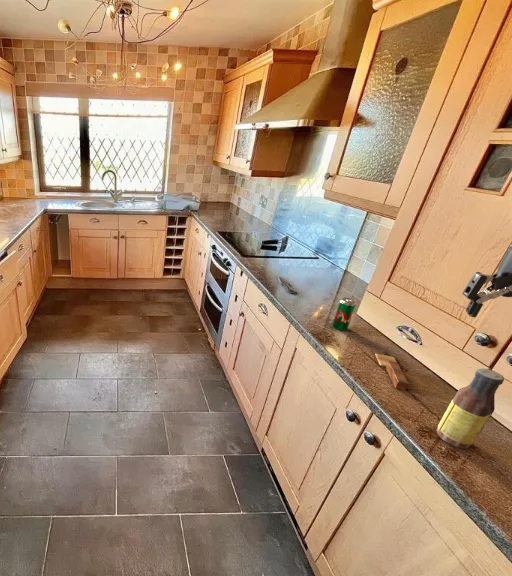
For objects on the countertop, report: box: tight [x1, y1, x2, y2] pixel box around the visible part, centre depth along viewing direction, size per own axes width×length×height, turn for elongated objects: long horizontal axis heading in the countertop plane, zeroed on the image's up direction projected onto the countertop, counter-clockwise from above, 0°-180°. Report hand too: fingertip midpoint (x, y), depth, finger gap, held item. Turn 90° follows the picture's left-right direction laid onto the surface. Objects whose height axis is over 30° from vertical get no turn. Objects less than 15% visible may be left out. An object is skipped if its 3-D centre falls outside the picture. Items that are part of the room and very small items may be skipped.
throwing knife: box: [277, 275, 297, 294], centre depth 152 cm, size 4×20×1 cm, turn 176°
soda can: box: [332, 297, 357, 332], centre depth 115 cm, size 5×5×12 cm
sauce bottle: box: [436, 367, 505, 450], centre depth 70 cm, size 7×6×20 cm
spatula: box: [374, 353, 409, 391], centre depth 95 cm, size 16×5×2 cm, turn 157°
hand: (495, 319), depth 70 cm, fingers open, 8 cm apart
